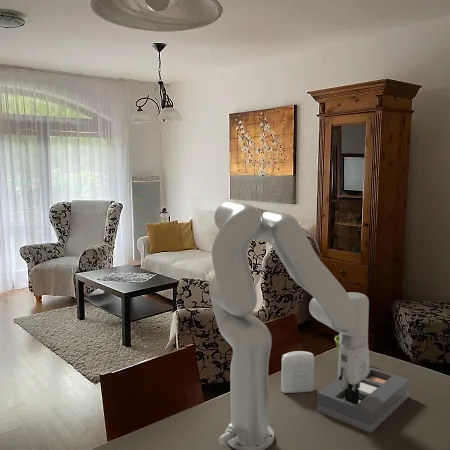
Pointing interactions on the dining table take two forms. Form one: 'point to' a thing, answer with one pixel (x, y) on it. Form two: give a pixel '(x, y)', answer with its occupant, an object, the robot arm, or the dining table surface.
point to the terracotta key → (377, 379)
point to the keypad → (365, 400)
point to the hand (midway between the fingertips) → (351, 402)
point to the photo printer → (297, 372)
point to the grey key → (367, 388)
